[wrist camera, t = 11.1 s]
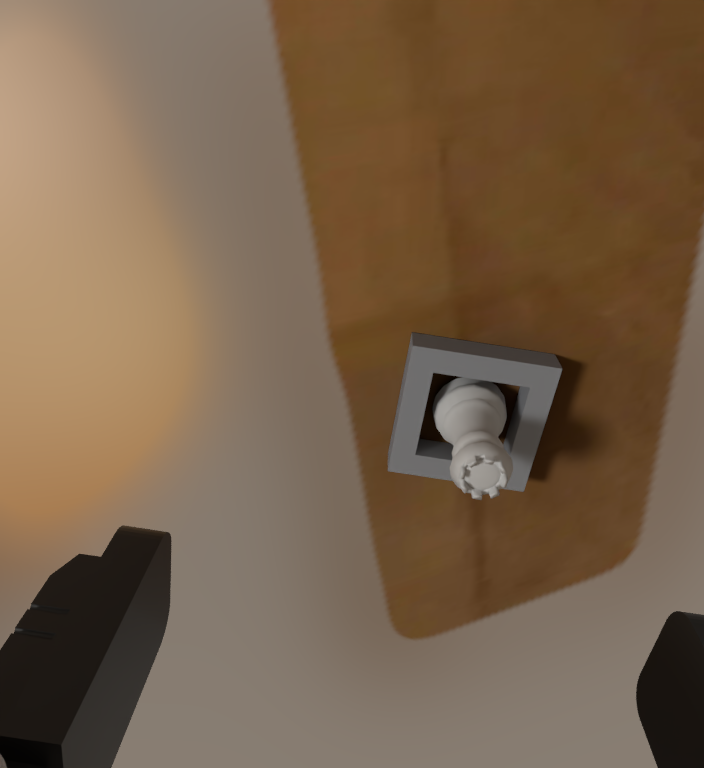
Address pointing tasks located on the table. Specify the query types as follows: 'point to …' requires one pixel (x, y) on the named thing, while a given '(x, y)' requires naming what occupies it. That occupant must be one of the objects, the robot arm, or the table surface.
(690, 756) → the robot arm
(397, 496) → the table surface
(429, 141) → the table surface
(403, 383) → the socket plinth
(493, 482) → the rook chess piece
